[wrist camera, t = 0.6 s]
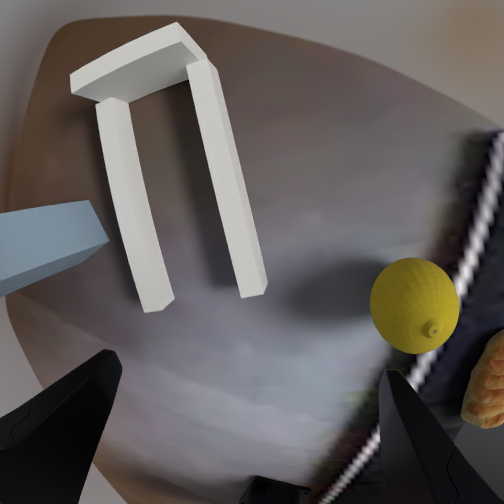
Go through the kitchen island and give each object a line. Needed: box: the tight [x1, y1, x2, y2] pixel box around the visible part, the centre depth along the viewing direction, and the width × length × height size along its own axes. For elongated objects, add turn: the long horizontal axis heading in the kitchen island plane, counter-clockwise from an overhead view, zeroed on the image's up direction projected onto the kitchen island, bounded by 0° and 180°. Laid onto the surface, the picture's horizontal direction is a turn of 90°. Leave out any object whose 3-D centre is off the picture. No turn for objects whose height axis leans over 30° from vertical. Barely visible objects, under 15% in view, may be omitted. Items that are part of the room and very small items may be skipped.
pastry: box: [461, 329, 504, 428], centre depth 20 cm, size 9×7×4 cm
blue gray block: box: [0, 200, 110, 297], centre depth 19 cm, size 4×4×13 cm
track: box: [70, 22, 268, 313], centre depth 20 cm, size 18×9×6 cm, turn 13°
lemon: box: [370, 258, 459, 354], centre depth 18 cm, size 6×6×8 cm
